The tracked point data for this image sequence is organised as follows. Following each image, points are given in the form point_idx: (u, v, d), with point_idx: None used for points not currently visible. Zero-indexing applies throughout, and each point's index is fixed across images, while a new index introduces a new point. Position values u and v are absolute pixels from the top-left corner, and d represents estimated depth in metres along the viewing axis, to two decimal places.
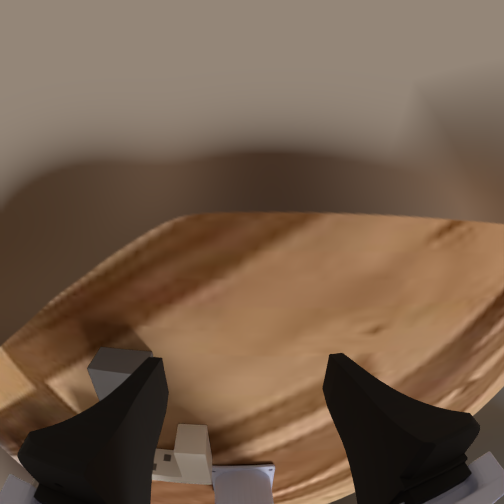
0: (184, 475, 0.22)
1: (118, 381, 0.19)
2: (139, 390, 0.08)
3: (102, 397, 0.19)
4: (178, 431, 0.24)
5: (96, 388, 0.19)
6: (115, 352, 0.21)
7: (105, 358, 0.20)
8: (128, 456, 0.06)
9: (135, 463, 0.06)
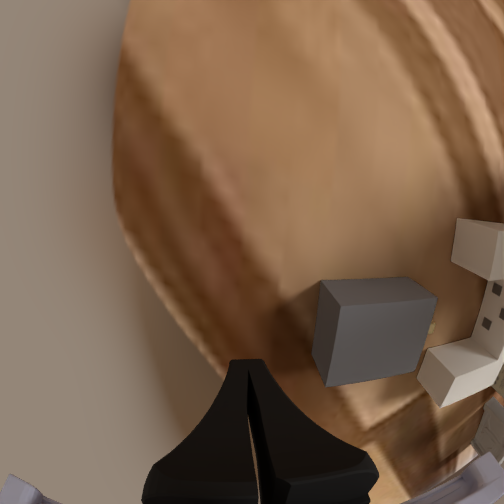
0: None
1: (350, 345, 0.13)
2: (245, 394, 0.08)
3: (379, 372, 0.14)
4: (461, 263, 0.15)
5: (362, 379, 0.14)
6: (317, 335, 0.16)
7: (320, 354, 0.15)
8: None
9: None
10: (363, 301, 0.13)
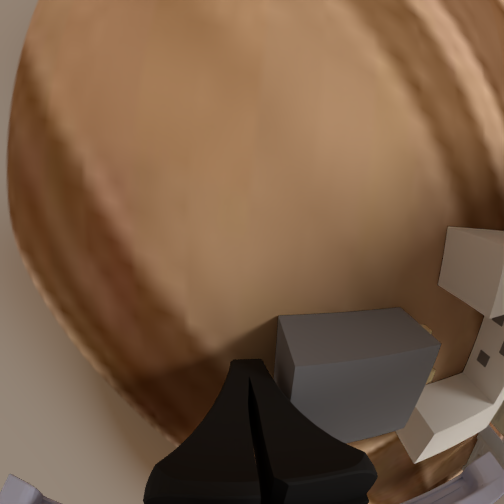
0: None
1: (313, 411, 0.09)
2: (247, 394, 0.08)
3: (356, 435, 0.10)
4: (451, 290, 0.11)
5: None
6: None
7: None
8: None
9: None
10: (332, 357, 0.09)
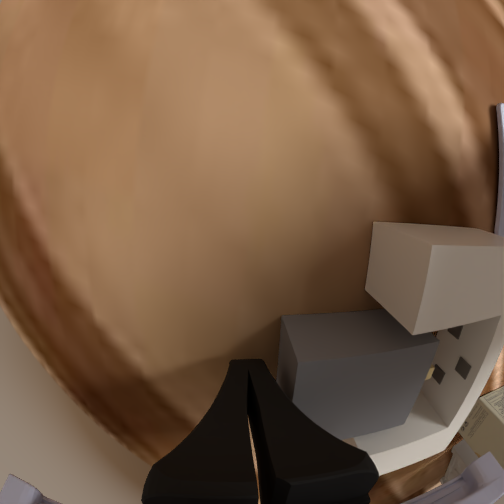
0: (495, 310, 0.08)
1: (315, 406, 0.09)
2: (245, 394, 0.08)
3: (357, 431, 0.10)
4: (376, 296, 0.11)
5: None
6: (278, 382, 0.12)
7: None
8: None
9: None
10: (333, 353, 0.09)
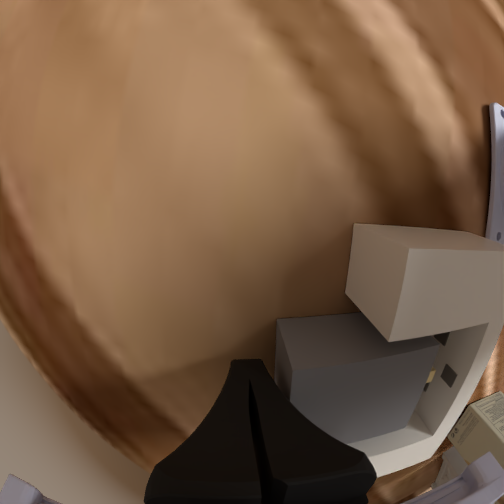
0: (482, 317, 0.08)
1: (313, 413, 0.09)
2: (247, 394, 0.08)
3: (357, 436, 0.10)
4: (355, 300, 0.11)
5: None
6: None
7: None
8: None
9: None
10: (330, 360, 0.09)
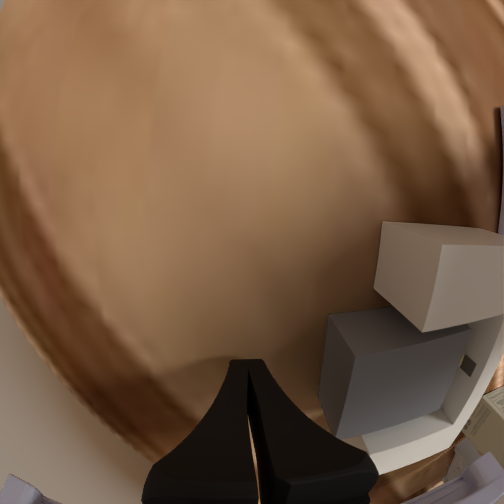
0: (500, 308, 0.08)
1: (366, 397, 0.09)
2: (245, 394, 0.08)
3: (399, 418, 0.10)
4: (385, 294, 0.11)
5: (379, 427, 0.10)
6: (324, 378, 0.12)
7: (329, 401, 0.11)
8: None
9: None
10: (384, 346, 0.09)
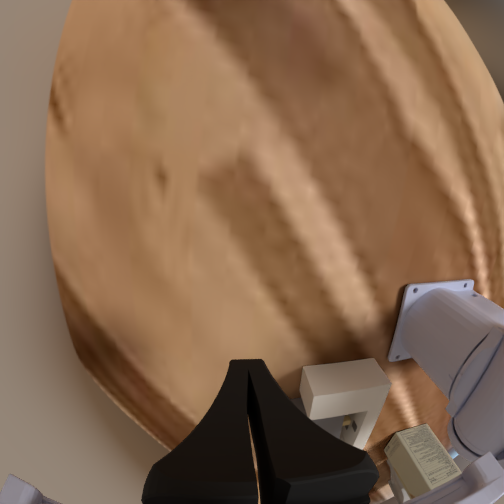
0: (361, 409, 0.20)
1: None
2: (245, 394, 0.08)
3: None
4: (301, 397, 0.23)
5: None
6: None
7: None
8: None
9: None
10: None
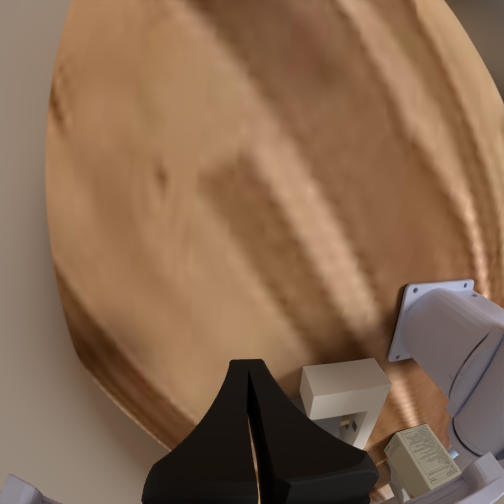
0: (361, 409, 0.20)
1: None
2: (245, 394, 0.08)
3: None
4: (301, 397, 0.23)
5: None
6: None
7: None
8: None
9: None
10: None
